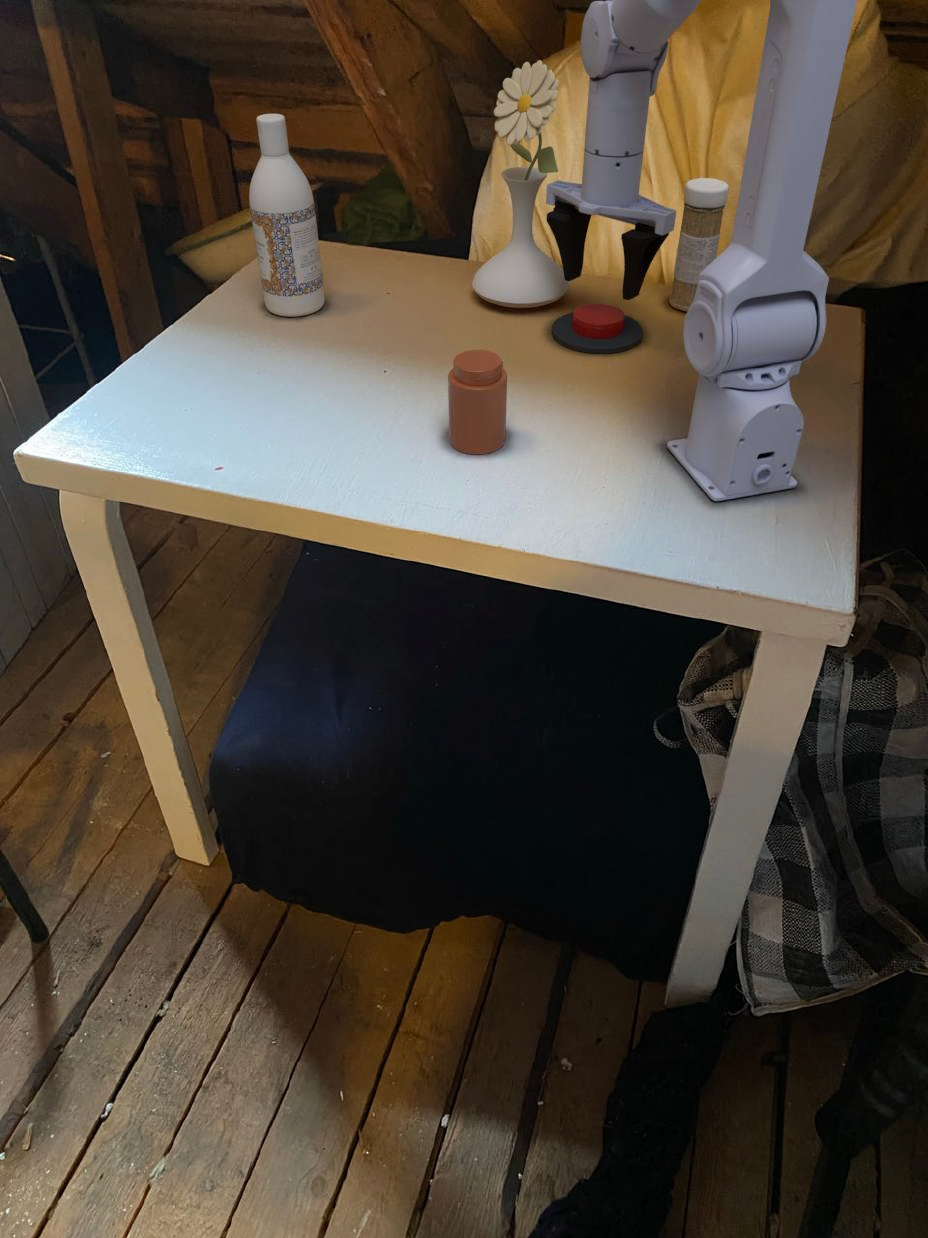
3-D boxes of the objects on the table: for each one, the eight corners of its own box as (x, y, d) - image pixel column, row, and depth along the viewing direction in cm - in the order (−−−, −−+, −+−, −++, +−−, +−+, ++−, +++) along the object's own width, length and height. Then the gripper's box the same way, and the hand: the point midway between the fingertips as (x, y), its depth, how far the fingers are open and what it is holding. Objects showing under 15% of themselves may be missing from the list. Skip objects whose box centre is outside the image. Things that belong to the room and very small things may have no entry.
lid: (595, 313, 104) (597, 298, 103) (634, 328, 101) (635, 314, 100) (561, 327, 102) (562, 312, 100) (599, 343, 98) (600, 329, 97)
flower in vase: (460, 285, 112) (457, 47, 95) (547, 273, 114) (559, 40, 98) (494, 329, 103) (498, 73, 86) (588, 315, 105) (610, 65, 89)
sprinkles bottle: (686, 294, 110) (704, 173, 101) (716, 306, 107) (738, 183, 98) (660, 304, 107) (677, 181, 98) (690, 316, 105) (710, 192, 96)
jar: (513, 449, 84) (515, 369, 78) (458, 458, 83) (457, 377, 77) (495, 422, 87) (496, 343, 82) (442, 430, 86) (440, 351, 81)
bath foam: (257, 301, 109) (227, 113, 96) (312, 289, 111) (290, 105, 98) (277, 322, 104) (248, 128, 91) (334, 310, 107) (314, 119, 93)
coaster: (657, 347, 99) (658, 341, 99) (570, 359, 97) (570, 353, 97) (621, 310, 106) (621, 305, 106) (539, 320, 104) (539, 315, 104)
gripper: (529, 144, 91) (524, 280, 100) (654, 173, 83) (636, 317, 92) (573, 129, 95) (564, 262, 104) (695, 156, 87) (674, 296, 96)
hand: (601, 287), depth 98 cm, fingers open, 7 cm apart
